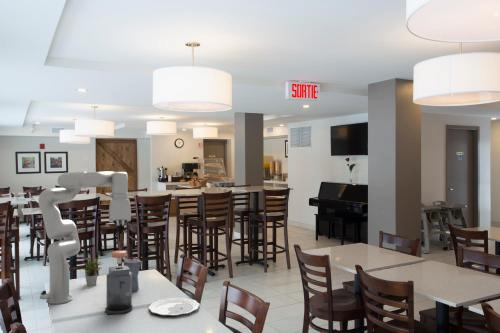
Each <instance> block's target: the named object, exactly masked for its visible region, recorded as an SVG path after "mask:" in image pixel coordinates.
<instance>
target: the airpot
mask: <svg viewBox="0 0 500 333" xmlns="http://www.w3.org/2000/svg"><path fill="white" fill-rule="evenodd" d="M132 295H133V294H132V273H131V272H130V269H129V268H128V267H127V266H126V265H125V266H124V265H121V266H119V265H117V266H109V267H108V273H107V274H106V301H105V302H106V305H105V313H106V314H107V315H110V316H111V315H112V316H119V315H125V314H128V313H131V312H132V311H133V309H134V307H133V304H132V302H133V300H132V299H133V298H132V297H133V296H132Z"/></svg>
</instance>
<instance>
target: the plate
mask: <svg viewBox="0 0 500 333" xmlns="http://www.w3.org/2000/svg"><path fill="white" fill-rule="evenodd" d="M182 303H188V304H191V305H192V306H193V309H192V310H191V311H189V312H186V313H181V314H168V313H169V312H170V311H171V310H169V309H170V308H174V305H176V304H182ZM200 305H201V304H200V303H199V302H198V301H197V300H195V299H191V298H189V297H169V298H161V299H159V300H156V301H154V302H151V304H150V305H149V306H148V309H149V311H150V313H153V314H156V315H160V316H164V317H178V316H177V315H179V316H182V315H183V314H184V315H188V314H191V313H193V312H195V311H197V310H198V309H199V307H200ZM168 310H169V311H168ZM184 315H183V316H184Z"/></svg>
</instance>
